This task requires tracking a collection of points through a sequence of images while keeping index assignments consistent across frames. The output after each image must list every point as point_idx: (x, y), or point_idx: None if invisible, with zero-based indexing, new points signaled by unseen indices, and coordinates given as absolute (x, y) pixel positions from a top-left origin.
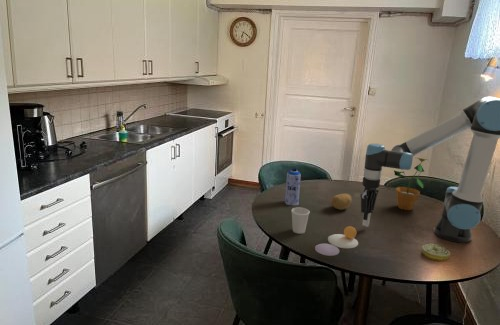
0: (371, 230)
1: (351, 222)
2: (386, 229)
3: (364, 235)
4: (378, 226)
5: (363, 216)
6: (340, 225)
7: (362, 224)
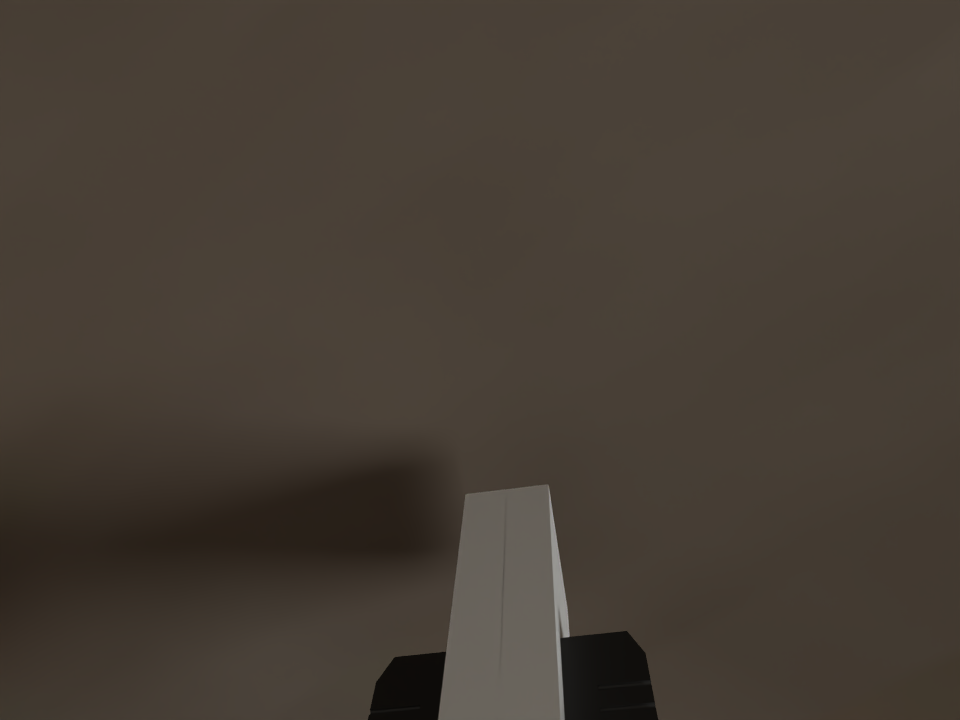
0: (600, 594)
1: (562, 46)
2: (928, 715)
3: (265, 652)
4: (939, 556)
5: (444, 667)
6: (116, 25)
7: (466, 507)
